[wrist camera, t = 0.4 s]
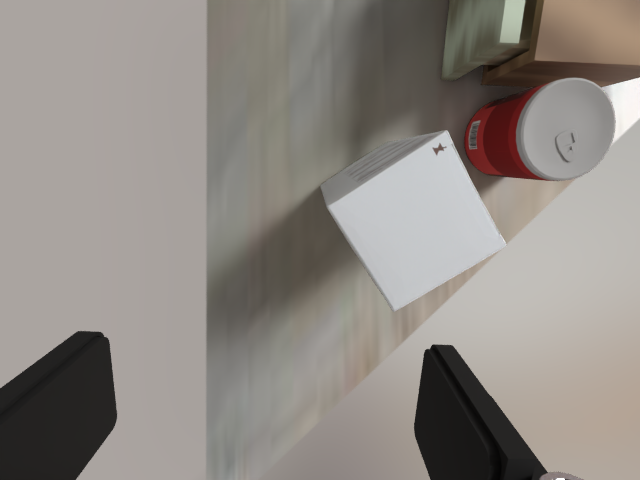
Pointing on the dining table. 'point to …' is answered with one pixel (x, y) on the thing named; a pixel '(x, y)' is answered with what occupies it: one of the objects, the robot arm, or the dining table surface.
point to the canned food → (543, 132)
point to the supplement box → (412, 216)
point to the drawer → (485, 34)
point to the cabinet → (576, 45)
